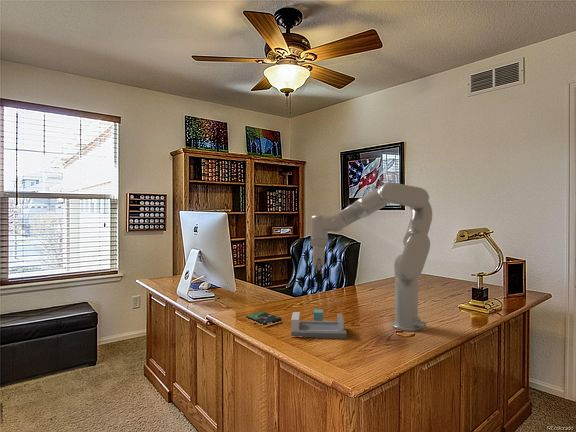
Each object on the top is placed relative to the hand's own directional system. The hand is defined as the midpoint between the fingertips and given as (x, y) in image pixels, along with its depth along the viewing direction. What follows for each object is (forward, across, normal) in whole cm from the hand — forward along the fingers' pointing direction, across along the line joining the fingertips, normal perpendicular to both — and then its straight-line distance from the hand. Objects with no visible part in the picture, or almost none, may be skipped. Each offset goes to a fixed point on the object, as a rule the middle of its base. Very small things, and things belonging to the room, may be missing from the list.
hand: (318, 280), depth 163 cm
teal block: (+19, 0, 0) cm, 19 cm away
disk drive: (+20, 0, -25) cm, 33 cm away
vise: (+19, +14, 0) cm, 23 cm away
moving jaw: (+17, +13, +9) cm, 23 cm away
